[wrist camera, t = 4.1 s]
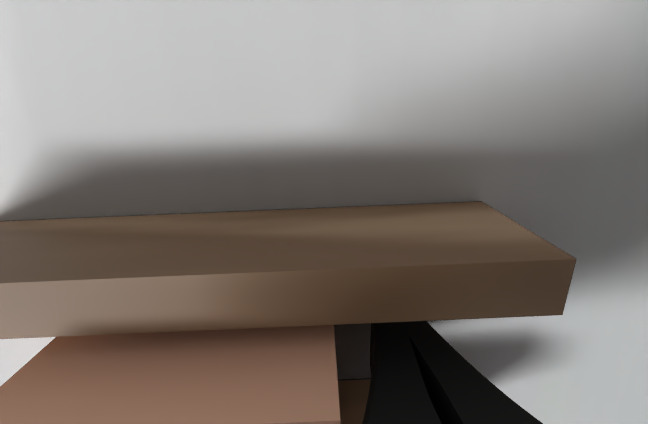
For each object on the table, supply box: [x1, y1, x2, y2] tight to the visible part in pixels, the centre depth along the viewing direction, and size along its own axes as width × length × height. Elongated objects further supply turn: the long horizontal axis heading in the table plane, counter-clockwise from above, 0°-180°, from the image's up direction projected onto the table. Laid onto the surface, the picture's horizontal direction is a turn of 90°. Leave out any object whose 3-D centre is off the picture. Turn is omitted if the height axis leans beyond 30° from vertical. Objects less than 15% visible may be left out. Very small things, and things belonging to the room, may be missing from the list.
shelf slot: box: [0, 201, 576, 424], centre depth 9 cm, size 8×14×4 cm, turn 92°
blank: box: [0, 325, 340, 424], centre depth 8 cm, size 4×6×5 cm, turn 92°
